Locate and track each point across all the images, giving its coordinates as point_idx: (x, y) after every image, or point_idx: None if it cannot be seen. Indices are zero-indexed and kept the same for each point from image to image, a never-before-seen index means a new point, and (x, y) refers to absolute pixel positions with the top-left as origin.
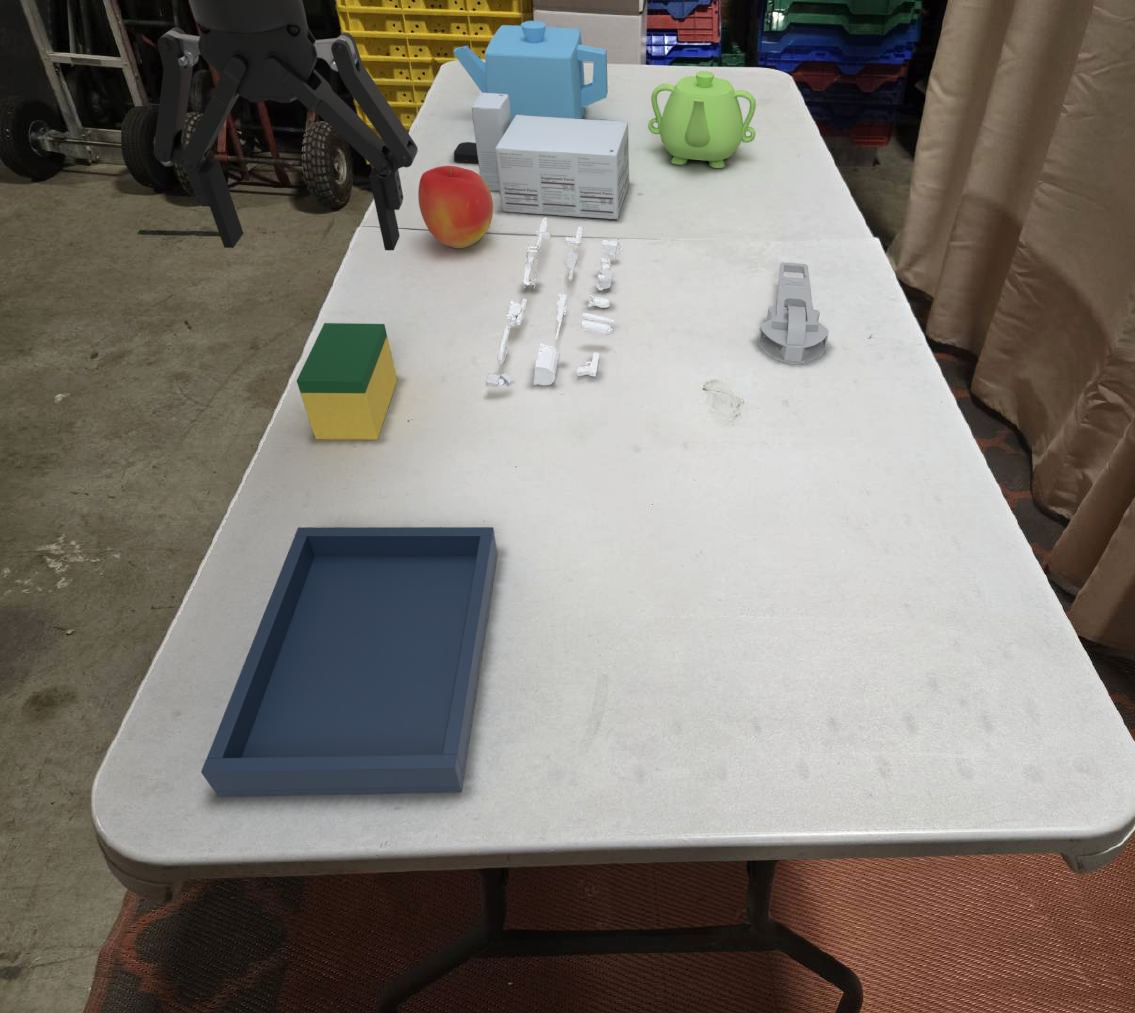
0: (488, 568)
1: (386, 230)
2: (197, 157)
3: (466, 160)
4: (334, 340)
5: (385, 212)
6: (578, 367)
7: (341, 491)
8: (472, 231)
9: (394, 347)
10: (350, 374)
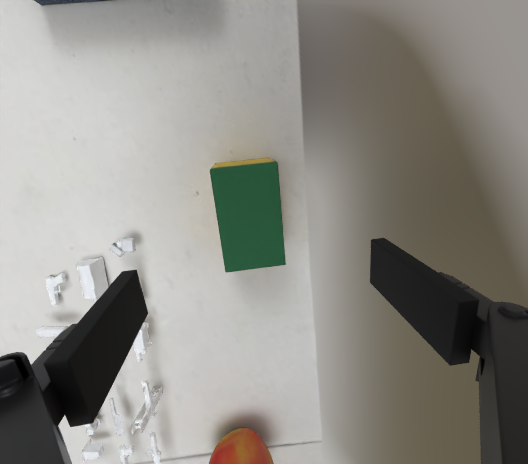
0: None
1: (113, 288)
2: (499, 325)
3: None
4: (264, 236)
5: (92, 308)
6: (62, 281)
7: (220, 87)
8: (220, 444)
9: (246, 291)
10: (226, 180)
